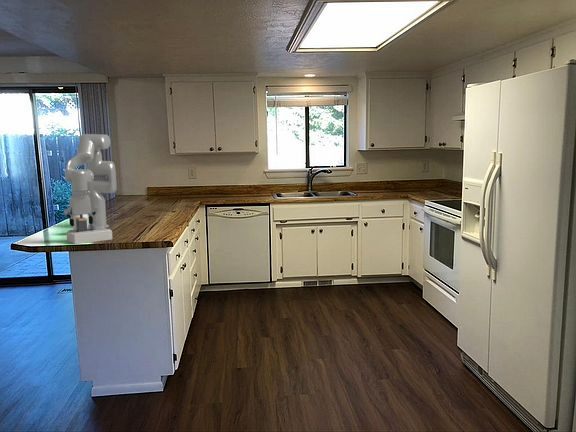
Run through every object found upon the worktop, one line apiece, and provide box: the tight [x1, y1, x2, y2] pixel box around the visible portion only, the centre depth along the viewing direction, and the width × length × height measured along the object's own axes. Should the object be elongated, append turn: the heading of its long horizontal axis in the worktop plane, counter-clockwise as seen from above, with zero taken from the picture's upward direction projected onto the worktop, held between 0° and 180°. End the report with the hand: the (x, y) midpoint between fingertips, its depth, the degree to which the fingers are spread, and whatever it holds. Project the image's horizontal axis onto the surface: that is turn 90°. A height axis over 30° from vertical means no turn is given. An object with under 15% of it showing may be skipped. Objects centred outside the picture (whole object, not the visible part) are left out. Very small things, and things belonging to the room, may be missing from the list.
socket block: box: [66, 227, 113, 245], centre depth 249 cm, size 12×20×6 cm, turn 134°
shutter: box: [89, 224, 105, 231], centre depth 252 cm, size 7×7×3 cm
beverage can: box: [72, 214, 89, 230], centre depth 266 cm, size 8×8×12 cm
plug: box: [76, 215, 87, 232], centre depth 246 cm, size 5×4×12 cm
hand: (81, 225), depth 246 cm, fingers open, 9 cm apart
